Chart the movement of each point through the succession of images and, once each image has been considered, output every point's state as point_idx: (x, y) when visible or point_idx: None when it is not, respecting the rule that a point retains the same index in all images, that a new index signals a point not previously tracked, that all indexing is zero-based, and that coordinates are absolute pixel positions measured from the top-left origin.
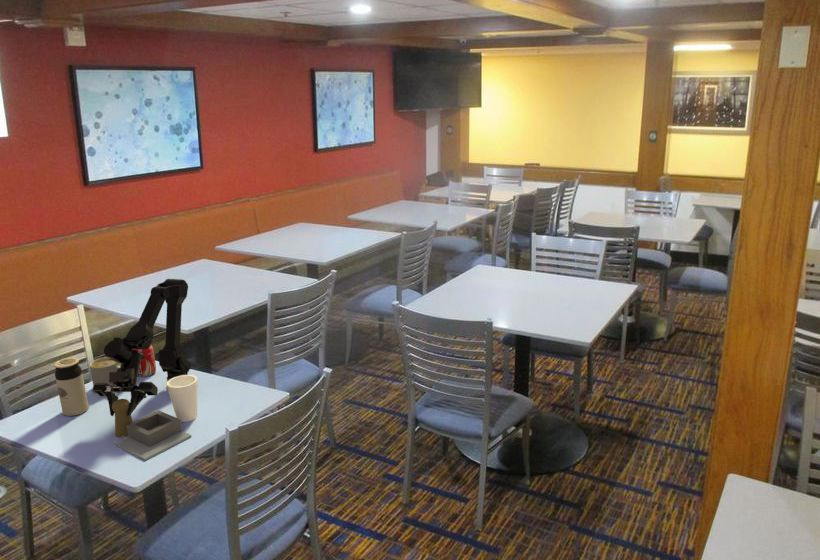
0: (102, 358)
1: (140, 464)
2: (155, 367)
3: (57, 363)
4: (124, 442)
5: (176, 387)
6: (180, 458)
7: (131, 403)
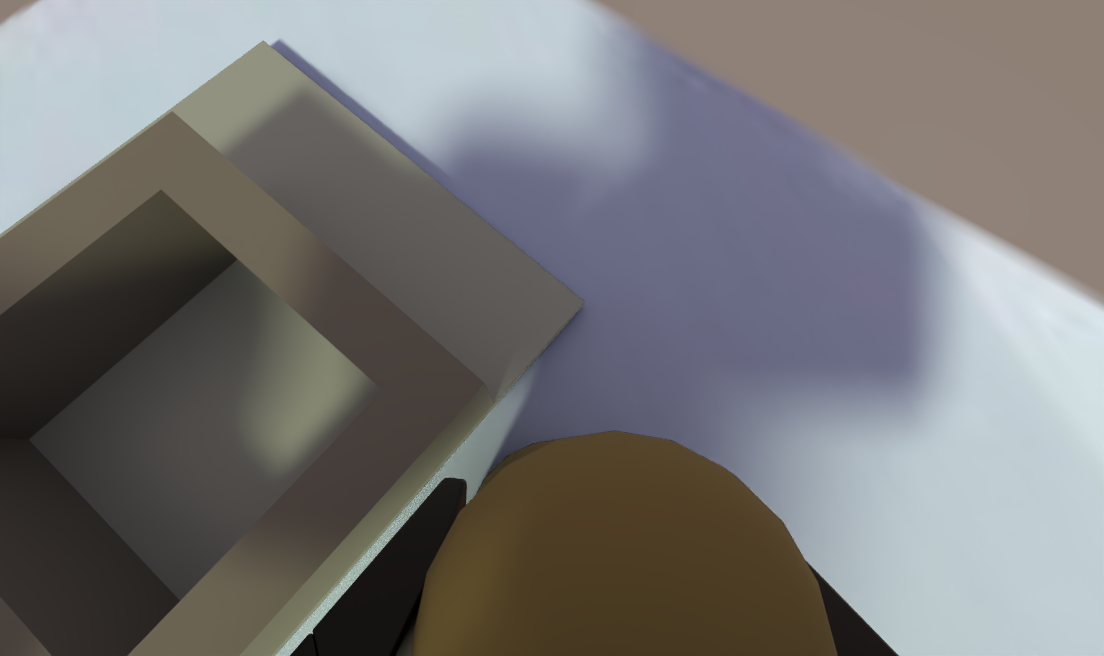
0: None
1: (300, 18)
2: None
3: None
4: (496, 300)
5: None
6: (3, 40)
7: (341, 649)
